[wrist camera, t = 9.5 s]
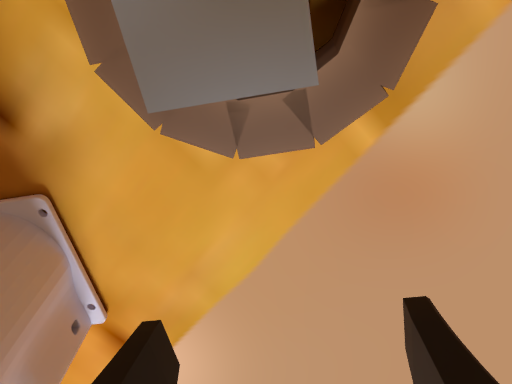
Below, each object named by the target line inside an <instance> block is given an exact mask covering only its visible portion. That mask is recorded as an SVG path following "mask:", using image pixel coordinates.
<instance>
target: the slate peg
mask: <svg viewBox="0 0 512 384" xmlns="http://www.w3.org/2000/svg"><path fill="white" fill-rule="evenodd" d="M111 2H112V5H113V8H114V11H115V14H116V17H117V20H118V23H119V26H120V29H121V32H122V36H123V39H124V42H125V45H126V48H127V51H128V54H129V57H130V60H131V63H132V66H133V69H134V72H135V75H136V78H137V81H138V84H139V87H140V91H141V94H142V97H143V100H144V103H145V106H146V109H147V112H148V113H154V112H160V111H166V110H172V109H178V108H184V107H190V106H196V105H202V104H208V103H214V102H220V101H226V100H232V99H238V98H244V97H250V96H256V95H262V94H268V93H274V92H280V91H286V90H292V89H298V88H304V87H310V86H316V85H319V83H318V75H317V66H316V58H315V50H314V42H313V34H312V26H311V18H310V10H309V2H308V0H111Z"/></svg>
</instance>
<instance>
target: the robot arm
mask: <svg viewBox="0 0 512 384" xmlns="http://www.w3.org/2000/svg"><path fill="white" fill-rule="evenodd" d="M42 209H43V210H45V211H46V212H47V213H45V212H43V211H42ZM92 304H93V305H92ZM403 308H404V309H403V310H404V330H405V349H406V353H407V358H408V362H409V367H410V371H411V375H412V379H413V384H499V383H498V382H497V381H496V380H495V379H494V378H493V377H492V376H491V375H490V373H489V372H488V371H487V370H486V369H485V368H484V367H483V366H482V365H481V364H480V363H479V361H478V360H477V359H476V358H475V357H474V356H473V355H472V353H471V352H470V351H469V350H468V349H467V348H466V346H465V345H464V344H463V343H462V342H461V341H460V339H459V338H458V337H457V336H456V334H455V333H454V332H453V330H452V329H451V328H450V327H449V325H448V324H447V323H446V321H445V320H444V319H443V317H442V316H441V315H440V314H439V312H438V310H437V309H436V308H435V306H434V305H433V303H432V302H431V300H430V299H429V298H427V297H426V296H423V297H411V298H403ZM106 318H107V313H106V311H105V309H104V307H103V305H102V303H101V301H100V299H99V297H98V295H97V293H96V291H95V289H94V287H93V285H92V283H91V281H90V279H89V277H88V275H87V273H86V271H85V269H84V267H83V265H82V263H81V261H80V259H79V257H78V255H77V253H76V251H75V249H74V247H73V245H72V243H71V241H70V239H69V237H68V235H67V233H66V231H65V229H64V227H63V225H62V224H61V222H60V220H59V218H58V216H57V214H56V212H55V210H54V208H53V206H52V204H51V202H50V200H49V199H48V198H47V197H46V196H44V195H42V194H37V195H30V196H23V197H17V198H10V199H3V200H0V384H60V383H61V381H62V379H63V377H64V375H65V373H66V372H67V370H68V368H69V366H70V364H71V362H72V360H73V358H74V357H75V355H76V353H77V351H78V349H79V347H80V345H81V344H82V342H83V340H84V338H85V336H86V334H87V332H88V331H89V329H90V327H91V325H92V324H101V323H104V322H105V320H106ZM179 366H180V364H179V362H178V359H177V357H176V355H175V353H174V350H173V348H172V345H171V343H170V341H169V338H168V336H167V333H166V331H165V329H164V326H163V324H162V322H161V320H156V321H145V322H142V323H141V324H140V325H139V326H138V328H137V329H136V330H135V331H134V332H133V334H132V335H131V336H130V337H129V339H128V340H127V341H126V342H125V344H124V345H123V346H122V347H121V349H120V350H119V351H118V352H117V354H116V355H115V356H114V357H113V359H112V360H111V361H110V362H109V363H108V365H107V366H106V367H105V368H104V369H103V371H102V372H101V373H100V374H99V375H98V377H97V378H96V379H95V380H94V381H93V383H92V384H177V381H178V373H179Z"/></svg>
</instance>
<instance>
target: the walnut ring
mask: <svg viewBox="0 0 512 384" xmlns="http://www.w3.org/2000/svg"><path fill="white" fill-rule="evenodd" d="M65 1H66V4H67V6H68V9H69V12H70V14H71V17H72V19H73V22H74V25H75V27H76V30H77V33H78V35H79V38H80V40H81V43H82V46H83V48H84V51H85V53H86V56H87V59H88V61H89V64H90V65H92V64H97V63H101V65H100V66H99V67H98V68H97V69H96V70H95V71H94V72H95V73H96V74H97V75H98V76H99V77H100V78H101V79H102V80H103V81H104V82H105V83H106V84H108V85H109V86H110V87H111V88H112V89H113V90H114V91H115V92H116V93H117V94H118V95H119V96H120V97H121V98H122V99H123V100H124V101H125V102H126V103H127V104H128V105H129V106H130V107H131V108H132V109H133V110H134V111H135V112H136V113H137V114H138V115H139V116H140V117H141V118H142V119H143V120H144V121H145V122H146V123H147V124H148V125H149V126H150V127H151V128H152V129H153V130H155V129H157V128H158V127H159V126H160V125H161V124H162V123H163V124H162V129H161V133H160V134H162V135H165V136H168V137H171V138H174V139H176V140H179V141H182V142H185V143H188V144H191V145H194V146H197V147H200V148H203V149H206V150H209V151H212V152H215V153H218V154H221V155H224V156H227V157H230V158H233V157H234V154H235V152H236V149H237V151H238V155H239V159H244V158H250V157H257V156H263V155H270V154H277V153H283V152H290V151H296V150H303V149H310V148H315V143H314V137H315V139H316V140H317V141H318V142H319V143H320V144H321V145H322V144H323V143H325V142H326V141H328V140H329V139H330V138H332V137H333V136H334V135H336V134H337V133H339V132H340V131H341V130H343V129H344V128H345V127H347V126H348V125H350V124H351V123H352V122H354V121H355V120H356V119H358V118H359V117H360V116H362V115H363V114H365V113H366V112H367V111H369V110H370V109H371V108H373V107H374V106H376V105H377V104H378V103H380V102H381V101H382V100H384V99H385V98H387V97H388V94H387V93H386V91H385V89H384V88H383V86H384V87H386V88H389V89H392V90H394V88H395V87H396V85H397V83H398V81H399V79H400V77H401V75H402V73H403V71H404V69H405V67H406V65H407V63H408V61H409V59H410V57H411V55H412V53H413V51H414V49H415V47H416V45H417V44H418V42H419V40H420V38H421V36H422V34H423V32H424V30H425V28H426V26H427V24H428V22H429V20H430V18H431V16H432V14H433V12H434V10H435V8H436V6H437V4H438V3H436V2H433V1H431V0H348V1H347V3H346V6H345V8H344V11H343V13H342V16H341V18H340V21H339V23H338V25H337V28H336V30H335V33H334V35H333V38H332V39H331V40H330V41H329V42H327V43H326V44H325V45H324V46H323V47H322V48H320V49H319V50H318V51H317V52H316V53H315V58H316V66H317V75H318V83H319V85H316V86H310V87H304V88H298V89H292V90H286V91H280V92H274V93H268V94H262V95H256V96H250V97H244V98H238V99H232V100H226V101H220V102H214V103H208V104H202V105H196V106H190V107H184V108H178V109H172V110H166V111H160V112H154V113H148V112H147V109H146V106H145V103H144V100H143V97H142V94H141V91H140V87H139V84H138V81H137V78H136V75H135V72H134V69H133V66H132V63H131V60H130V57H129V54H128V51H127V48H126V45H125V42H124V39H123V36H122V32H121V29H120V26H119V23H118V20H117V17H116V14H115V11H114V8H113V5H112V2H111V0H65Z"/></svg>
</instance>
